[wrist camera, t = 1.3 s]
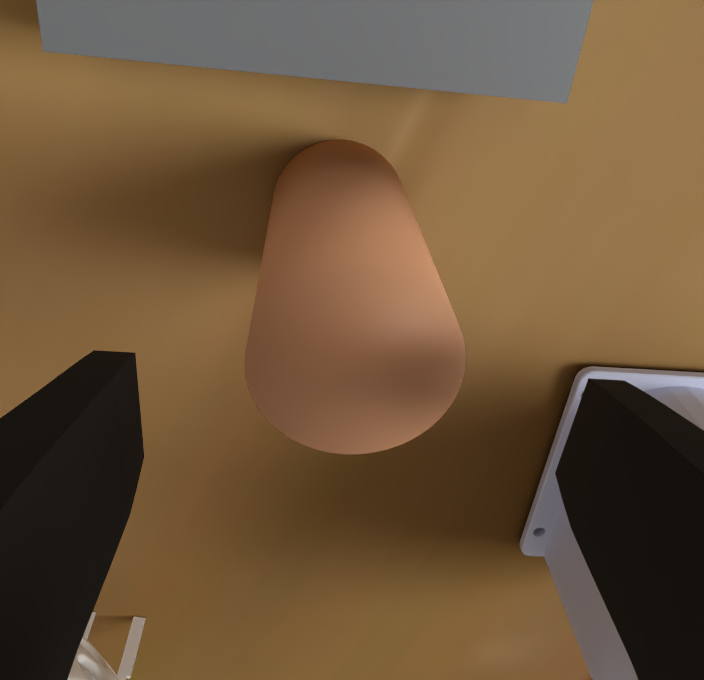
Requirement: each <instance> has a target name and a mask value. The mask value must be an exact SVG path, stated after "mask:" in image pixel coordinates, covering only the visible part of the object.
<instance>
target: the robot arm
mask: <svg viewBox="0 0 704 680" xmlns="http://www.w3.org/2000/svg"><path fill="white" fill-rule="evenodd" d="M583 391H584V392H583ZM582 392H583V395H581V394H582ZM143 459H144V450H143V438H142V427H141V415H140V404H139V392H138V380H137V369H136V357H135V353H128V352H111V351H93V352H91V353H90V354H88V355H87V356H85V357H84V358H82V359H81V360H79V361H78V362H77V363H75V364H74V365H73V366H71V367H70V368H69V369H67V370H66V371H65V372H63V373H62V374H61V375H59V376H58V377H57V378H55V379H54V380H52V381H51V382H50V383H48V384H47V385H46V386H44V387H43V388H42V389H40V390H39V391H38V392H36V393H35V394H34V395H32V396H31V397H29V398H28V399H27V400H25V401H24V402H22V403H21V404H20V405H18V406H17V407H15V408H14V409H13V410H11V411H10V412H9V413H7V414H6V415H4V416H3V417H2V418H0V680H67V679H68V676H69V673H70V670H71V668H72V665H73V662H74V659H75V656H76V653H77V650H78V648H79V645H80V642H81V640H82V637H83V635H84V632H85V630H86V627H87V624H88V622H89V619H90V617H91V614H92V612H93V609H94V606H95V604H96V601H97V599H98V596H99V594H100V591H101V589H102V586H103V583H104V581H105V578H106V576H107V573H108V571H109V568H110V565H111V563H112V560H113V558H114V555H115V552H116V550H117V547H118V545H119V542H120V539H121V537H122V534H123V532H124V529H125V526H126V523H127V521H128V518H129V515H130V512H131V508H132V504H133V500H134V496H135V493H136V489H137V484H138V480H139V476H140V472H141V467H142V463H143ZM537 528H539V529H537ZM519 545H520V548H521V551H522V553H523V554H525V555H527V556H543V557H544V558H545V560H546V563H547V566H548V568H549V571H550V573H551V576H552V578H553V581H554V583H555V586H556V588H557V591H558V594H559V596H560V599H561V601H562V604H563V606H564V609H565V611H566V614H567V617H568V619H569V622H570V624H571V627H572V629H573V632H574V634H575V637H576V640H577V642H578V645H579V647H580V650H581V652H582V655H583V657H584V660H585V662H586V665H587V668H588V670H589V673H590V675H591V678H592V680H704V373H700V372H682V371H665V370H647V369H630V368H612V367H595V366H591V367H586V368H584V369H582V370H580V371H579V372H578V373H577V375H576V377H575V379H574V382H573V385H572V388H571V391H570V394H569V397H568V400H567V403H566V406H565V409H564V412H563V415H562V418H561V421H560V424H559V427H558V430H557V433H556V436H555V439H554V442H553V444H552V447H551V450H550V453H549V456H548V459H547V462H546V465H545V468H544V471H543V474H542V477H541V480H540V483H539V486H538V489H537V492H536V495H535V498H534V501H533V504H532V507H531V510H530V513H529V516H528V519H527V522H526V525H525V528H524V531H523V533H522V536H521V539H520V544H519Z"/></svg>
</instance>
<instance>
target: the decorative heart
mask: <svg viewBox="0 0 704 680" xmlns="http://www.w3.org/2000/svg"><path fill="white" fill-rule="evenodd" d="M95 615H96V612H92V614H91V617H90V619H89V622H88V624H87V627H86V630H85V632H84V635H83V637H82V640H81V642H80V645H79V648H78V650H77V653H76V656H75V659H74V662H73V665H72V668H71V670H70V673H69V676H68V679H67V680H125V679H126V678H129V679H130V678H131V674H132V670H133V666H134V662H135V658H136V654H137V651H138V647H139V643H140V639H141V635H142V631H143V627H144V623H145V620H146V618H142V617H136V616H134V617H133V620H132V624H131V628H130V631H129V635H128V638H127V642H126V646H125V649H124V653H123V656H122V660H121V664H120V667H119V671H118V675H116V673H115V672H114V671H113V669H112V668H111V667H110V666H109V664H108V663H107V662H106V661H105V659H104V658H103V657H102V656H101V655H100V654H99V652H98V651H97V650H96V649H95V648H94V647H93V646H92V645H91V644H90V643H89V641H88V640H87V639H88V636H89V633H90V630H91V627H92V624H93V621H94V618H95Z"/></svg>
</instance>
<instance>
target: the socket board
mask: <svg viewBox="0 0 704 680" xmlns="http://www.w3.org/2000/svg"><path fill="white" fill-rule="evenodd" d="M593 1H594V0H36V4H37V11H38V19H39V26H40V33H41V41H42V48H43V52H54V53H64V54H74V55H84V56H94V57H104V58H114V59H124V60H134V61H144V62H155V63H165V64H175V65H185V66H195V67H205V68H215V69H225V70H235V71H245V72H256V73H266V74H276V75H286V76H296V77H306V78H316V79H326V80H336V81H346V82H357V83H367V84H377V85H387V86H397V87H407V88H417V89H427V90H437V91H447V92H457V93H468V94H478V95H488V96H498V97H508V98H518V99H528V100H538V101H548V102H558V103H567V101H568V97H569V93H570V89H571V85H572V82H573V78H574V74H575V70H576V66H577V62H578V59H579V55H580V51H581V47H582V43H583V39H584V35H585V32H586V28H587V24H588V20H589V16H590V12H591V8H592V5H593Z"/></svg>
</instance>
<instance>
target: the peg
mask: <svg viewBox="0 0 704 680" xmlns="http://www.w3.org/2000/svg"><path fill="white" fill-rule="evenodd" d="M465 367H466V349H465V343H464V338H463V335H462V332H461V329H460V326H459V324H458V321H457V319H456V316H455V314H454V311H453V309H452V307H451V304H450V302H449V299H448V297H447V294H446V292H445V289H444V287H443V285H442V282H441V280H440V277H439V275H438V272H437V270H436V267H435V265H434V263H433V260H432V258H431V255H430V253H429V250H428V248H427V245H426V243H425V241H424V238H423V236H422V233H421V231H420V228H419V226H418V224H417V221H416V219H415V216H414V214H413V211H412V209H411V206H410V204H409V202H408V199H407V197H406V194H405V192H404V189H403V187H402V184H401V182H400V180H399V178H398V176H397V174H396V172H395V170H394V169H393V167H392V166H391V164H390V163H389V162H388V161H387V160H386V159H385V158H384V157H383V156H382V155H381V154H379V153H378V152H377V151H375V150H373V149H372V148H370V147H368V146H366V145H363V144H361V143H357V142H354V141H348V140H330V141H324V142H320V143H317V144H314V145H312V146H309V147H308V148H306V149H304V150H302V151H301V152H300V153H298V154H297V155H296V156H294V157H293V158H292V159H291V160H290V161H289V162H288V164H287V165H286V166H285V168H284V169H283V170H282V172H281V174H280V176H279V178H278V180H277V183H276V185H275V189H274V194H273V199H272V205H271V211H270V216H269V222H268V228H267V234H266V239H265V245H264V251H263V256H262V262H261V268H260V274H259V279H258V285H257V291H256V296H255V302H254V308H253V314H252V319H251V325H250V331H249V336H248V342H247V348H246V356H245V376H246V380H247V385H248V389H249V391H250V394H251V396H252V399H253V401H254V402H255V404H256V406H257V408H258V409H259V411H260V412H261V413H262V415H263V416H264V417H265V418H266V420H267V421H268V422H270V423H271V424H272V425H273V426H274V427H275V428H276V429H277V430H279V431H280V432H281V433H282V434H284V435H285V436H287V437H289V438H290V439H292V440H294V441H296V442H298V443H300V444H302V445H305V446H307V447H310V448H313V449H316V450H319V451H324V452H329V453H336V454H366V453H374V452H378V451H383V450H387V449H390V448H393V447H396V446H399V445H401V444H403V443H406V442H408V441H410V440H412V439H414V438H415V437H417V436H419V435H421V434H422V433H423V432H425V431H426V430H428V429H429V428H430V427H432V426H433V425H434V424H435V423H436V422H437V421H438V420H439V419H440V418H441V417H442V416H443V415H444V414H445V412H446V411H447V410H448V409H449V407H450V406H451V404H452V403H453V401H454V400H455V398H456V396H457V394H458V392H459V390H460V387H461V384H462V381H463V378H464V373H465Z"/></svg>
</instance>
